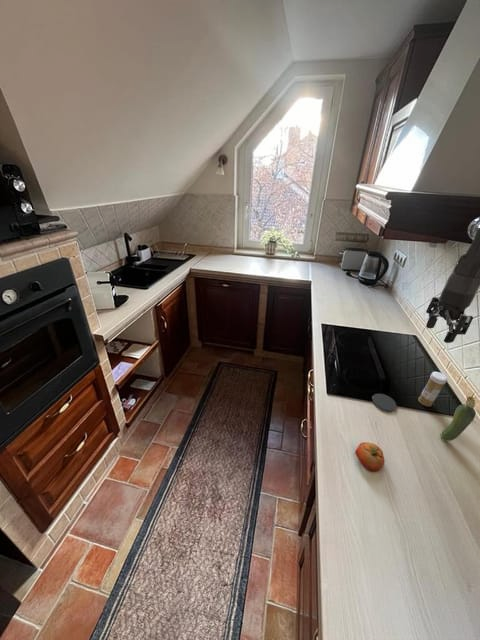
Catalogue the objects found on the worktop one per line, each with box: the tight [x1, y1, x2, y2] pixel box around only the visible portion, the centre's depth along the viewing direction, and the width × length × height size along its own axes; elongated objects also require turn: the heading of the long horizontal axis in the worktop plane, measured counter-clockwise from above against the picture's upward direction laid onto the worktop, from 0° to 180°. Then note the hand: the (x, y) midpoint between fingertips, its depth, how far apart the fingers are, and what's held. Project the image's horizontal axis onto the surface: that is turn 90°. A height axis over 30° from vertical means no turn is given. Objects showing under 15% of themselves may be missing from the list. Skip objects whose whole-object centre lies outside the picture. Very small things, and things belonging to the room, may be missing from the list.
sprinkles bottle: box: [417, 371, 448, 407], centre depth 92 cm, size 5×5×13 cm
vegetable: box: [439, 395, 477, 442], centre depth 76 cm, size 4×4×20 cm
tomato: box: [354, 442, 386, 473], centre depth 75 cm, size 8×7×7 cm
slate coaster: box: [371, 393, 397, 413], centre depth 94 cm, size 8×8×1 cm
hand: (437, 334), depth 82 cm, fingers open, 8 cm apart
